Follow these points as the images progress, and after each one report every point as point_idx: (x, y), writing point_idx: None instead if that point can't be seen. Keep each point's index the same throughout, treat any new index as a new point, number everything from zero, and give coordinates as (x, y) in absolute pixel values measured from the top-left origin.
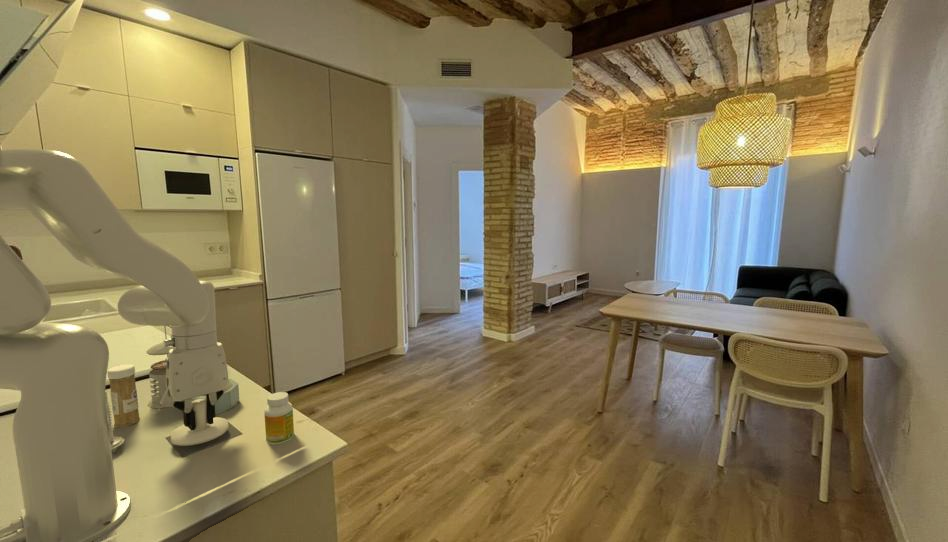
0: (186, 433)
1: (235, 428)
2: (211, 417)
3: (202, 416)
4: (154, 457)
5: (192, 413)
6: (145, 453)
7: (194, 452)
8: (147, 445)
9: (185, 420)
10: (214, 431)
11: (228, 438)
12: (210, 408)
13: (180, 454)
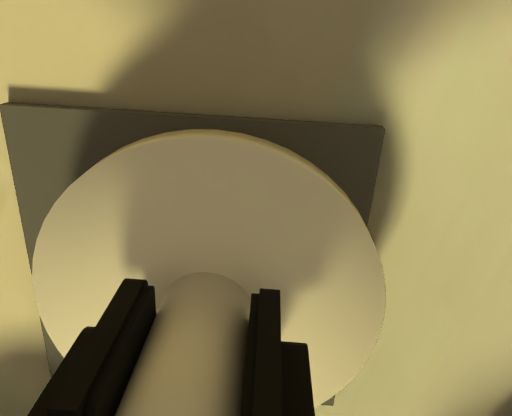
0: (297, 309)
1: (25, 217)
2: (116, 312)
3: (179, 354)
4: (447, 274)
5: (267, 410)
6: (447, 344)
7: (313, 126)
8: (403, 403)
9: (309, 389)
10: (152, 186)
11: (95, 121)
12: (79, 392)
13: (372, 175)
